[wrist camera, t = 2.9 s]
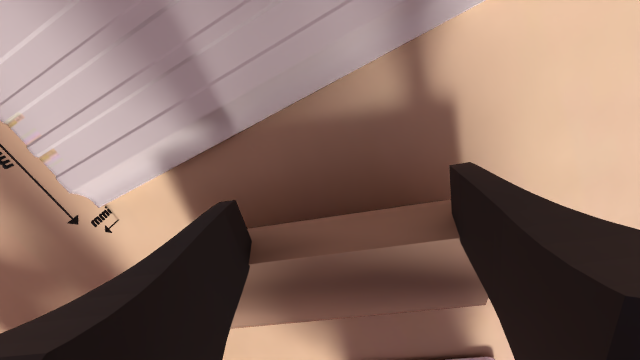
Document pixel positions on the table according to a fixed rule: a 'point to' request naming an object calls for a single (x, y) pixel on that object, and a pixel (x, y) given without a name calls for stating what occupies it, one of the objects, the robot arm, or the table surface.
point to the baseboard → (176, 75)
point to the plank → (357, 267)
